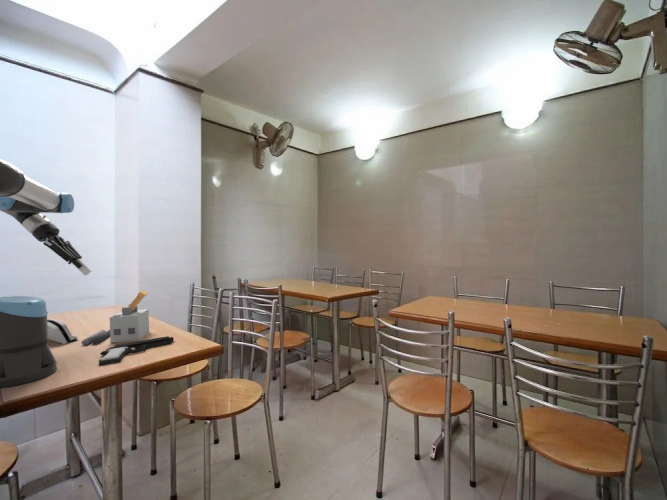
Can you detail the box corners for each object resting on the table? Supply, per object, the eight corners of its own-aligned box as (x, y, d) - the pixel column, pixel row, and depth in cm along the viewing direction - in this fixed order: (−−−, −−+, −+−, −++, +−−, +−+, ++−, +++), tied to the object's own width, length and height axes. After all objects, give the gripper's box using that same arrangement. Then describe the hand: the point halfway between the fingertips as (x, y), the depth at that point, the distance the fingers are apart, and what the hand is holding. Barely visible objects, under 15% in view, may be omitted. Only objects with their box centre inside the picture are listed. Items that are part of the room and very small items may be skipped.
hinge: (79, 340, 125) (68, 319, 122) (65, 347, 122) (53, 325, 118) (60, 335, 133) (49, 314, 130) (46, 341, 130) (35, 321, 126)
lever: (122, 311, 126) (139, 291, 127) (127, 308, 130) (143, 289, 132) (128, 314, 126) (144, 295, 127) (132, 312, 131) (148, 293, 132)
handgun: (178, 345, 111) (172, 334, 123) (98, 359, 98) (100, 346, 110) (179, 352, 111) (173, 341, 124) (98, 368, 98) (100, 354, 110)
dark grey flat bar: (81, 345, 119) (81, 339, 118) (99, 335, 132) (99, 329, 132) (98, 344, 120) (97, 338, 120) (114, 334, 133) (114, 328, 133)
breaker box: (110, 342, 122) (109, 309, 121) (123, 333, 133) (122, 303, 133) (138, 340, 124) (137, 308, 124) (149, 331, 136) (148, 302, 135)
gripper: (39, 220, 115) (88, 267, 118) (61, 224, 127) (104, 266, 130) (20, 233, 113) (70, 280, 116) (44, 236, 126) (89, 278, 129)
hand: (88, 273), depth 123 cm, fingers closed
